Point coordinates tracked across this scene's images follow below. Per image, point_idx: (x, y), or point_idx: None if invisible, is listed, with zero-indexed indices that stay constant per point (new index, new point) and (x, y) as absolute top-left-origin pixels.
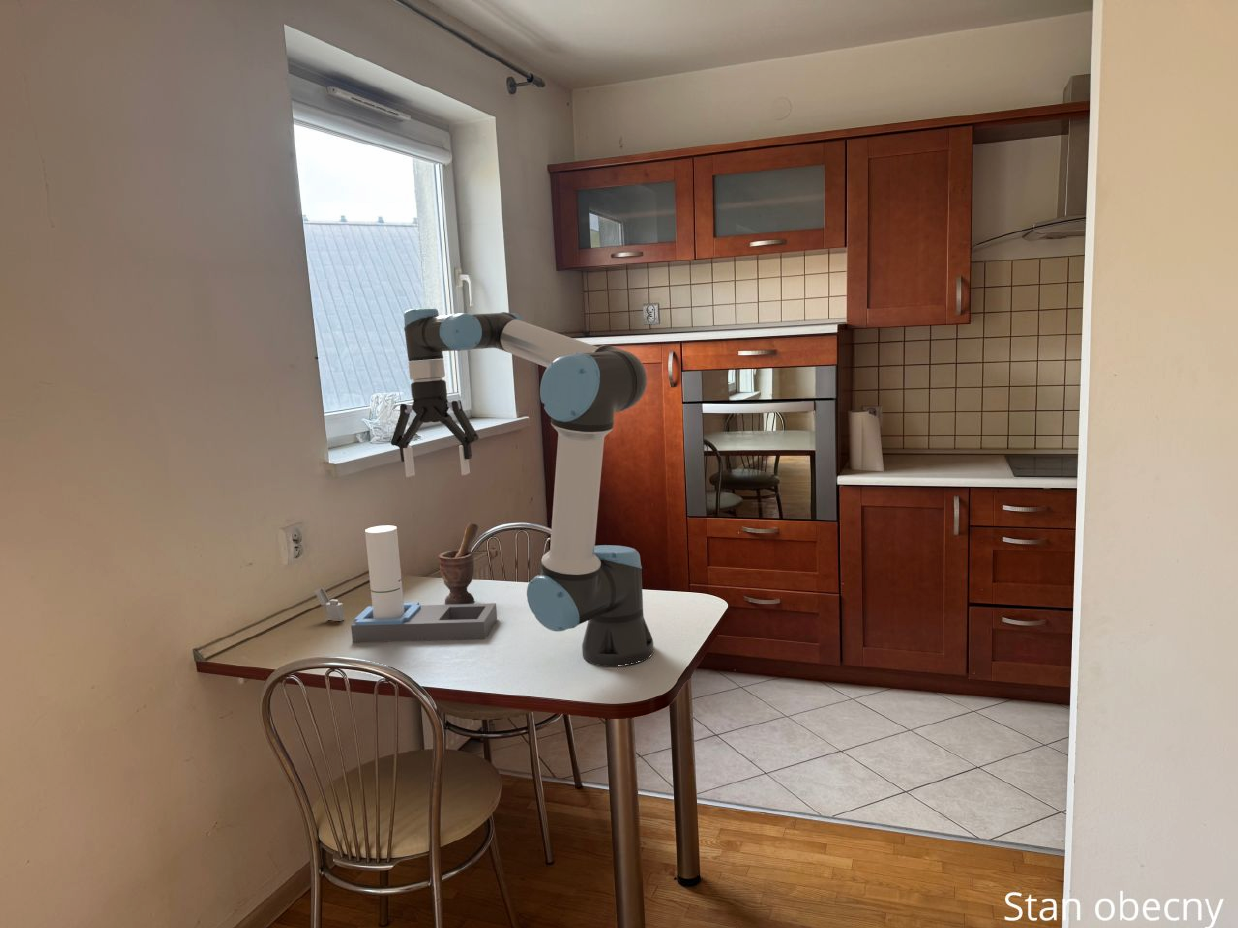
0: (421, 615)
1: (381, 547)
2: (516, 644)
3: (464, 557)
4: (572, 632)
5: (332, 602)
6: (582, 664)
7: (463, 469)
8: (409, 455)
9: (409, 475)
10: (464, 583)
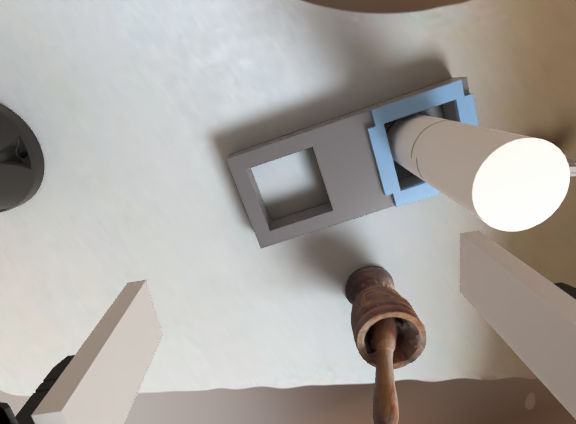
0: (359, 160)
1: (476, 140)
2: (164, 145)
3: (361, 328)
4: (108, 215)
5: (571, 165)
6: (11, 97)
7: (121, 299)
8: (534, 329)
9: (463, 240)
10: (356, 297)
